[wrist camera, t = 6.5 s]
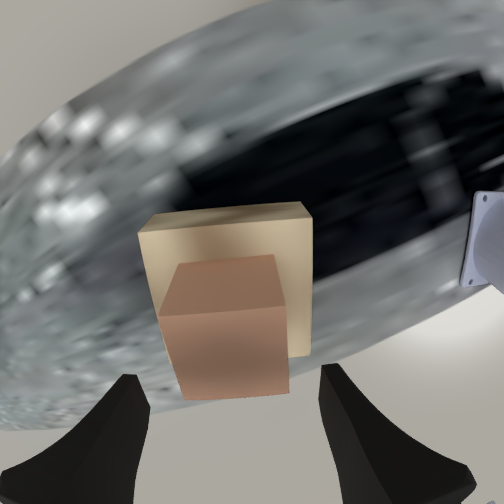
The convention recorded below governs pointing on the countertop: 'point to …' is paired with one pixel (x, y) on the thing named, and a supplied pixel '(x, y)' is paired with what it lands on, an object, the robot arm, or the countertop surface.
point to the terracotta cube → (227, 328)
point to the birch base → (238, 252)
